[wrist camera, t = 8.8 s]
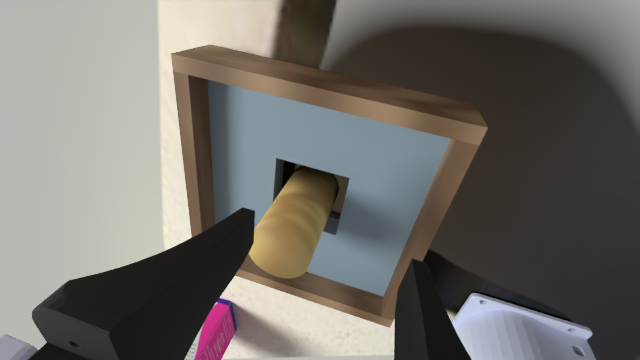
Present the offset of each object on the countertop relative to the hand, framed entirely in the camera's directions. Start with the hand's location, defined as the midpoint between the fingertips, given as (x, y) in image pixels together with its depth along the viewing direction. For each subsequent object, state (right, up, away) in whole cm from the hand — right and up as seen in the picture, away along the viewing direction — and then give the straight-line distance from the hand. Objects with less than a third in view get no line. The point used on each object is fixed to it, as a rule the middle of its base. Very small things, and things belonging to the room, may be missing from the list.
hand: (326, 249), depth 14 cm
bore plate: (-1, +3, +11) cm, 12 cm away
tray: (-1, +3, +11) cm, 12 cm away
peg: (-1, +3, +11) cm, 12 cm away
